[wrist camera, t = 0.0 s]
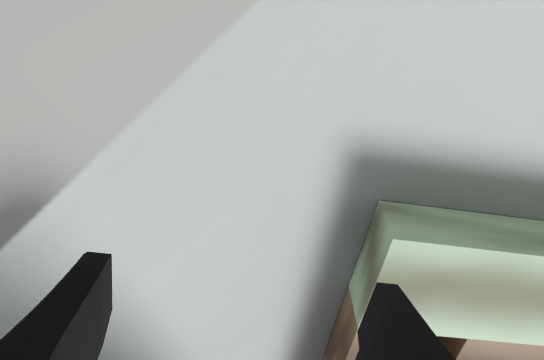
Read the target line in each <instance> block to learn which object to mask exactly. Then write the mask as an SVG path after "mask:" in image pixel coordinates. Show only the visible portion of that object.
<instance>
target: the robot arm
mask: <svg viewBox="0 0 544 360" xmlns="http://www.w3.org/2000/svg"><path fill="white" fill-rule="evenodd" d="M111 311H112V257H111V254H104V253H95V252H86V253H85V254H83V255H82V257H81V258H80V259H79V260H78V261H77V263H76V264H75V265H74V266H73V267H72V268H71V270H70V271H69V272H68V273H67V274H66V275H65V276H64V278H63V279H62V280H61V281H60V282H59V283H58V284H57V285H56V286H55V287H54V288H53V290H52V291H51V292H50V293H49V294H48V295H47V296H46V297H45V298H44V299H43V300H42V301H41V302H40V303H39V304H38V305H37V306H36V307H35V308H34V309H33V310H32V311H31V312H30V313H29V314H28V315H27V316H26V317H25V318H24V319H23V320H21V321H20V322H19V323H18V324H17V325H16V326H15V327H14V328H13V329H12V330H11V331H10V332H8V333H7V334H6V335H5V336H4V337H3V338H2V339H1V340H0V360H97V359H98V356H99V354H100V351H101V348H102V346H103V342H104V338H105V335H106V331H107V327H108V323H109V319H110V315H111ZM357 333H358V343H359V353H360V360H455V358H454V357H453V356H452V355H451V353H450V352H449V351H448V350H447V349H446V347H445V346H444V345H443V344H442V342H441V341H440V340H439V339H438V337H437V336H436V335H435V333H434V332H433V331H432V330H431V328H430V327H429V326H428V324H427V323H426V322H425V320H424V319H423V318H422V316H421V315H420V314H419V312H418V311H417V310H416V308H415V307H414V306H413V304H412V303H411V301H410V300H409V299H408V297H407V296H406V295H405V293H404V292H403V291H402V289H401V288H400V287H399V285H398V284H389V283H380V282H377V283H376V285H375V288H374V290H373V293H372V295H371V298H370V300H369V303H368V305H367V308H366V311H365V313H364V316H363V318H362V321H361V323H360V326H359V328H358V331H357Z"/></svg>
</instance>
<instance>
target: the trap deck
mask: <svg viewBox="0 0 544 360" xmlns="http://www.w3.org/2000/svg"><path fill="white" fill-rule="evenodd" d="M377 282H380V283H389V284H398V285H399V287H400V288H401V289H402V291H403V292H404V293H405V295H406V296H407V297H408V299H409V300H410V301H411V303H412V304H413V306H414V307H415V308H416V310H417V311H418V312H419V314H420V315H421V316H422V318H423V319H424V320H425V322H426V323H427V324H428V326H429V327H430V328H431V330H432V331H433V332H434V333H435V335H436V336H437V337H438V339H439V340H440V341H441V342H442V344H443V345H444V346H445V347H446V349H447V350H448V351H449V352H450V353H451V355H452V356H453V357H454V358H455V360H544V221H540V220H532V219H524V218H516V217H508V216H500V215H492V214H484V213H476V212H468V211H460V210H452V209H444V208H436V207H428V206H420V205H412V204H404V203H396V202H388V201H380V200H379V201H378V204H377V206H376V209H375V212H374V215H373V218H372V221H371V223H370V226H369V229H368V232H367V235H366V238H365V240H364V243H363V246H362V249H361V252H360V255H359V258H358V260H357V263H356V266H355V269H354V272H353V275H352V277H351V280H350V283H349V286H348V289H347V292H346V294H345V297H344V300H343V303H342V306H341V309H340V311H339V314H338V317H337V320H336V323H335V326H334V329H333V331H332V334H331V337H330V340H329V343H328V346H327V348H326V351H325V354H324V357H323V360H360V353H359V343H358V333H357V331H358V328H359V326H360V323H361V321H362V318H363V316H364V313H365V311H366V308H367V305H368V303H369V300H370V298H371V295H372V293H373V290H374V288H375V285H376V283H377Z"/></svg>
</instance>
